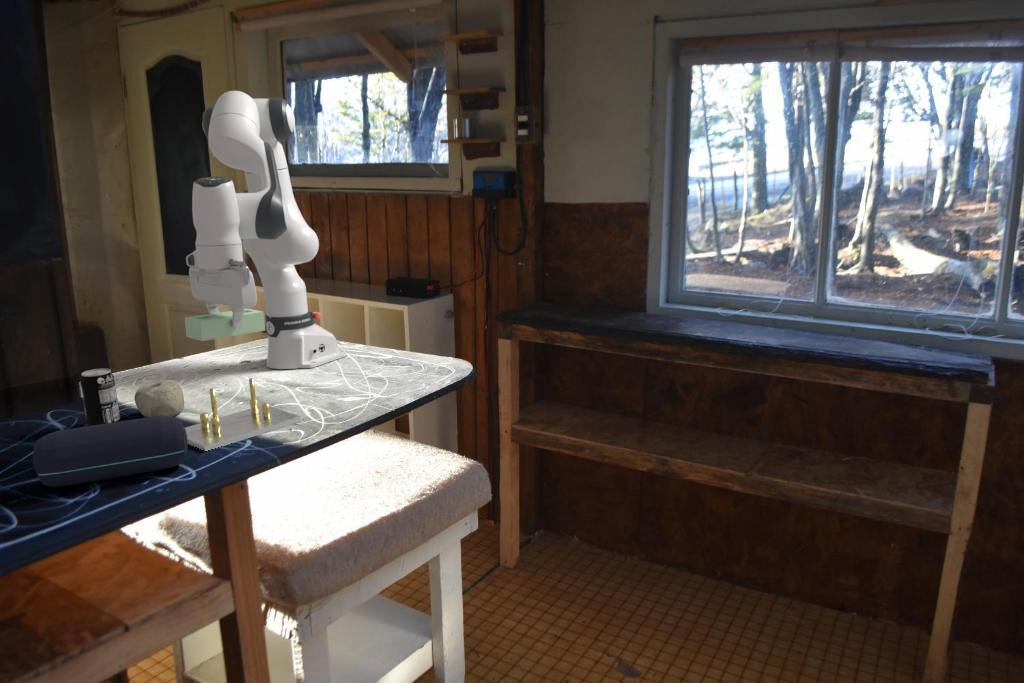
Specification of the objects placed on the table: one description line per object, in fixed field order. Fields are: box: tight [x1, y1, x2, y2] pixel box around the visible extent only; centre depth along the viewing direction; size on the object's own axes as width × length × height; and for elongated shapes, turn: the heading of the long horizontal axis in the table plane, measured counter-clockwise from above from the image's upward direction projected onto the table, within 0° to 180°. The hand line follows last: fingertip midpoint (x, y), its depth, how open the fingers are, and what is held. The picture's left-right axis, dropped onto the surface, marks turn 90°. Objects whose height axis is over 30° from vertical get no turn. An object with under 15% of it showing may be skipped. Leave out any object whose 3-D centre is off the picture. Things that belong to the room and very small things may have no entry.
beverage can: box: [79, 368, 121, 426], centre depth 174 cm, size 7×7×12 cm
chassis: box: [184, 378, 302, 452], centre depth 168 cm, size 22×14×10 cm, turn 139°
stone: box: [134, 379, 185, 418], centre depth 180 cm, size 10×10×10 cm
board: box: [184, 308, 266, 342], centre depth 164 cm, size 14×6×4 cm, turn 138°
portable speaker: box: [32, 415, 188, 488], centre depth 145 cm, size 25×10×10 cm, turn 114°
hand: (226, 325), depth 165 cm, fingers closed on board, 6 cm apart
